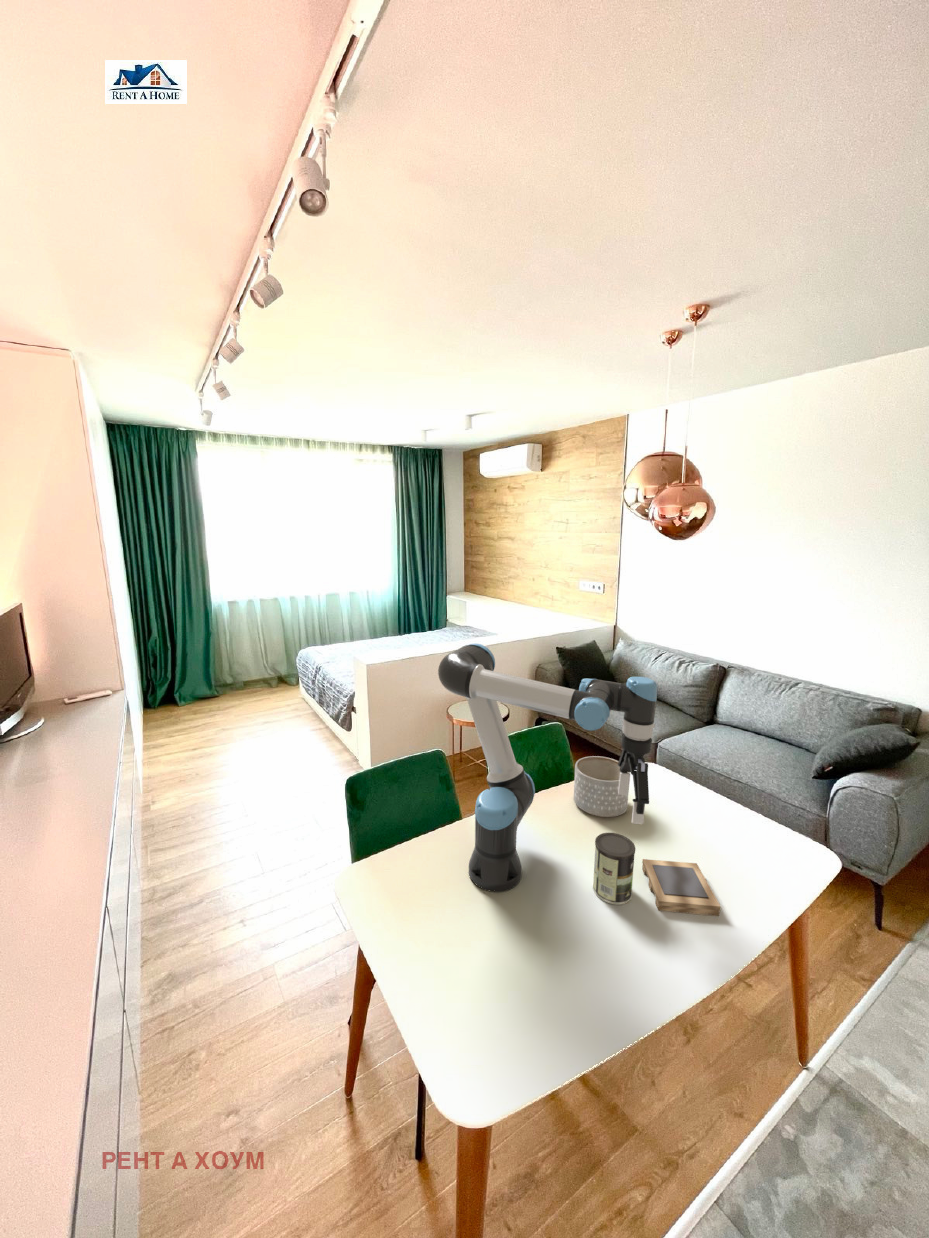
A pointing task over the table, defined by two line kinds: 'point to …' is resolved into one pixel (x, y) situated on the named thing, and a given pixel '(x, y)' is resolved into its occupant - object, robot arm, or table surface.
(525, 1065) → the table surface
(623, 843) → the coffee can
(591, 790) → the planter
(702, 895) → the dock
